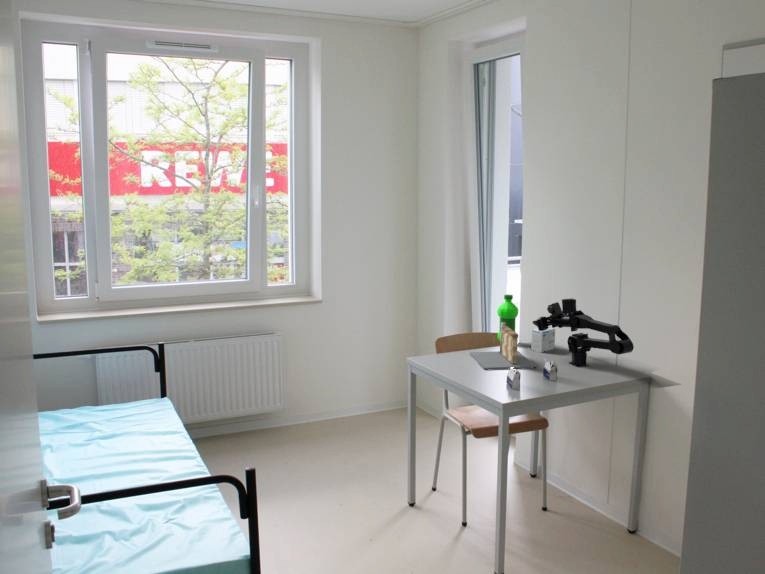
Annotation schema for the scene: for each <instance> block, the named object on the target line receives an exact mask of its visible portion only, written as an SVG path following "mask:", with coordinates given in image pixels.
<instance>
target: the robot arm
mask: <svg viewBox="0 0 765 574" xmlns="http://www.w3.org/2000/svg"><path fill="white" fill-rule="evenodd" d="M561 307H562V308H561ZM546 310H547V312H548V314H550V315H549V316H540V317H537V319H536V320H534V321H533V320H532V324H533V325H534V326H536V327H537V328H538V330H539V331H544V330H547V329H548V327H551V328H558V329H562V328H570V332H573V334H571V335H569V336H568V338H567V342H566V343H567V347H568V352H570V353H571V361H569V362H568V363H569V365H572V366H575V367H578V368H579V367H587V366H590V363H587V358H588V357H587V355H588V352H591V349H599V350H606V351H610V352H611V353H613V354H616V355H623V354H629V353H632V352H633V350H634V343H633V341H632V340H631V338H630V337H629V335H628V334H627V333H625V332H624V331H623V330H622V329H621V327H620V326H619V325H617V324H611V323H607V322H603V321H599V320H596V319H593V317H591V316H590V315H588V314H585V312H583V311H582V310H580V309H579V310H577V300H576V299H575V298H562V299H561V305H560V303H559V302H558V301H557V302H553V303H551V304H548V305H547V309H546ZM579 329H581V330H583V329H585V330H586V329H588V330H592V331H597V332H600V333H603V334H607V336H608V339H600V338H591V337H589V333H584V332H579V333H574V332H577V331H578V330H579ZM616 337H617V338H618V340H617V338H616Z"/></svg>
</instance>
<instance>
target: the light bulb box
mask: <svg viewBox="0 0 765 574" xmlns="http://www.w3.org/2000/svg"><path fill="white" fill-rule="evenodd" d="M555 343H556V327H554V328H552V326H548V329H547V330H544V331H539V330H538V327H537V328H532V329H531V346H530V347H531V348H530V349H532V350H531V351H533V350H536V351H535V352H537V351H539V352H538V353H541V352H542V353H545V352H549V351H553V350H555V345H556V344H555ZM544 351H545V352H544Z"/></svg>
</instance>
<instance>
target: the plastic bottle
mask: <svg viewBox="0 0 765 574" xmlns="http://www.w3.org/2000/svg"><path fill="white" fill-rule="evenodd" d="M503 298H504V302H503V303H502V304H500V305H499V306H498V308H497V315H498V317H499V331H498V333H497V340H498V341H499V342H500V333H501V323H502V322H504V323H506V326H508V327H509V328H510V329H512V330H513V331H514V332H516V319H517V317H518V316H519V308H518V306H516V305H515V303H513V301H512V300H513V298H514V295H513V294H504V297H503Z"/></svg>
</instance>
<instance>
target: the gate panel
mask: <svg viewBox="0 0 765 574" xmlns="http://www.w3.org/2000/svg"><path fill="white" fill-rule="evenodd" d="M518 338H519V334H518V333H517V332H516V331H515V332H514V331H513V330H512V329H510V328H509V327H508V326H502V352H501V354H502V355H503V356H505V357H506V358H507V359H508V360H509V361H510V362H511V363H512V364H515V363H517V351H518V340H519V339H518Z"/></svg>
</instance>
